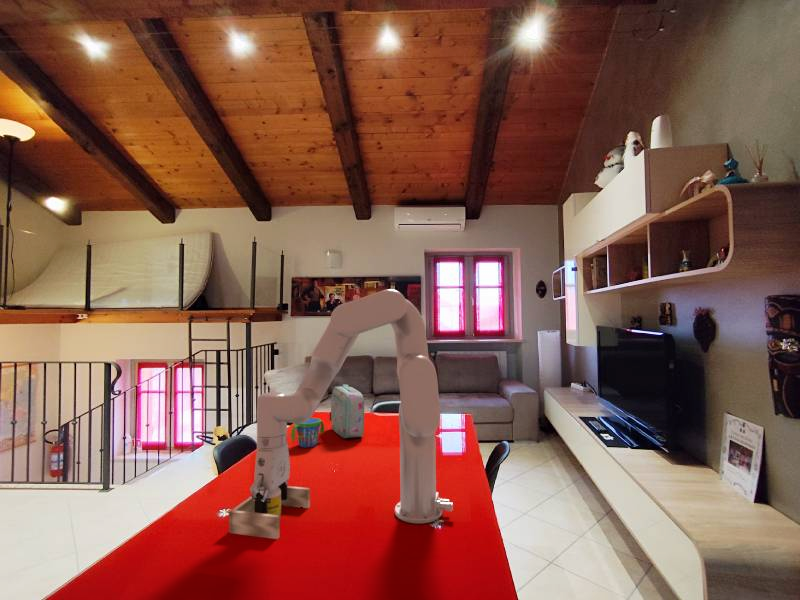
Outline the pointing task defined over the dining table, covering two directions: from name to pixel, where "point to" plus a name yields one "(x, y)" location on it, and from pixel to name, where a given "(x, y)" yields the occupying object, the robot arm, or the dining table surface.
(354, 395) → the lunch box
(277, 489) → the supplement bottle
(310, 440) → the snack cup
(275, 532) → the open-sided box
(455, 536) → the dining table surface
